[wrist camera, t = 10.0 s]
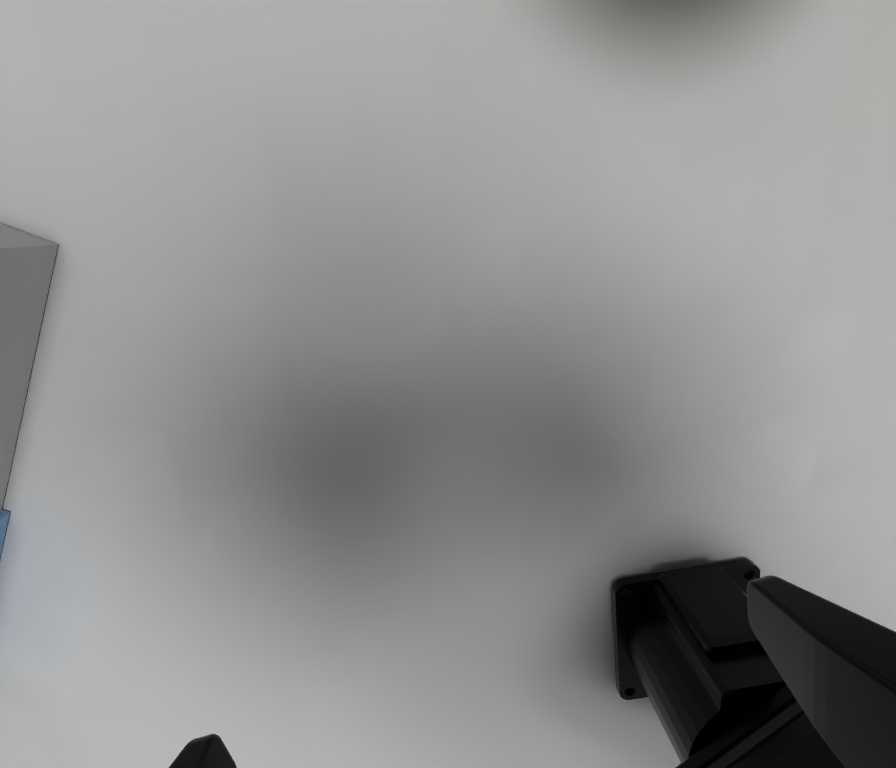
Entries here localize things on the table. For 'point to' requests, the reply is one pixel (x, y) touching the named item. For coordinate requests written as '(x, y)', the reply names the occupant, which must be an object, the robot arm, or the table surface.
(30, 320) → the cinder block
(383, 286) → the table surface
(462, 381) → the table surface
